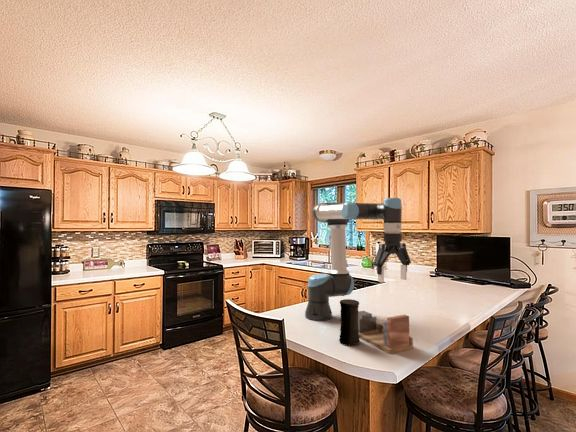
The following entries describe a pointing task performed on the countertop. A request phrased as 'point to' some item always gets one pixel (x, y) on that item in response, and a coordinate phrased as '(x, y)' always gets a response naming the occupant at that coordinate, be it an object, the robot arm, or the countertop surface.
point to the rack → (390, 335)
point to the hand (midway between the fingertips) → (392, 280)
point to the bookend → (366, 321)
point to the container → (349, 322)
